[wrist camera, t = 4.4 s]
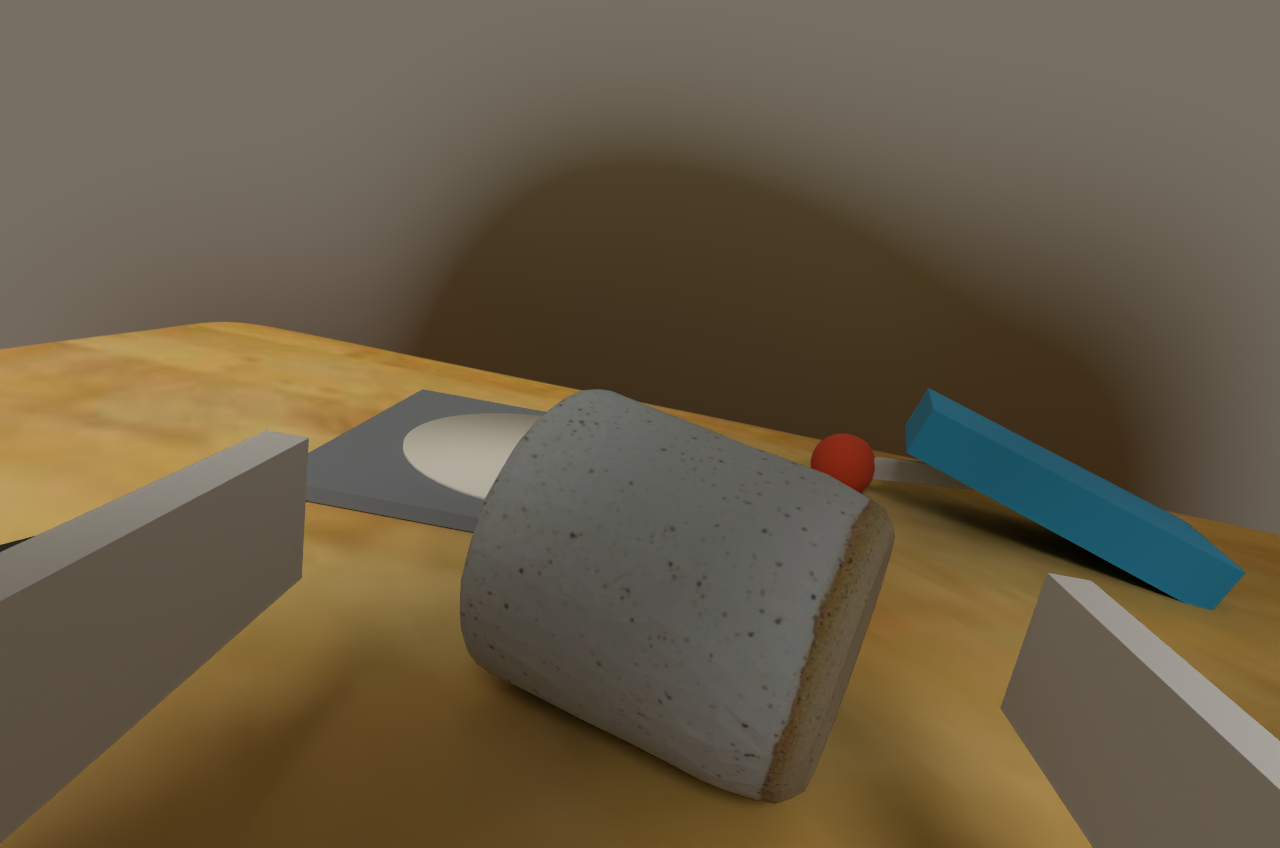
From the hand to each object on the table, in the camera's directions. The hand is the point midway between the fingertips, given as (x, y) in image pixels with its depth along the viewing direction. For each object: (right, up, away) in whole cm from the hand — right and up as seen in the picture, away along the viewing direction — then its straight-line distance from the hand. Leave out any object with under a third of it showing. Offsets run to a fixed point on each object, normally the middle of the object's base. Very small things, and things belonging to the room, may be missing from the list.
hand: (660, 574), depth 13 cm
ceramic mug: (0, -5, +7) cm, 8 cm away
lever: (+17, -3, +24) cm, 30 cm away
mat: (-5, 0, +21) cm, 22 cm away
